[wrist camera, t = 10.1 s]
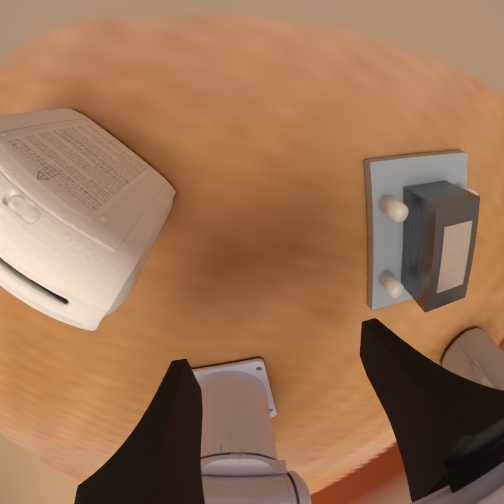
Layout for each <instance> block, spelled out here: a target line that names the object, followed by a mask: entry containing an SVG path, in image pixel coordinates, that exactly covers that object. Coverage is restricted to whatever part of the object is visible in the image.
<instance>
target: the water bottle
mask: <svg viewBox="0 0 504 504" xmlns="http://www.w3.org/2000/svg"><path fill="white" fill-rule="evenodd" d="M442 367H443V368H445V369H447V370H449V371H451V372H453V373H455V374H457V375H459V376H462V377H464V378H466V379H468V380H471V381H473V382H476V383H479V384H482V385H485V386H488V387H491V388H495V389H499V390H503V391H504V353H503V352H502V350H501V349H500V348H499V347H498V346H497V345H496V343H495V342H494V341H493V340H492V339H491V338H490V337H489V335H488V334H487V333H486V332H485V331H484V330H481V329H479V328H474V329H471V330H468V331H466V332H464V333H463V334H462V335H461V336H460V337H458V338H457V339H456V340H455V341H454V342H453V343H452V344H451V346H450V347H449V348H448V349H447V351H446V353H445V355H444V358H443V360H442Z"/></svg>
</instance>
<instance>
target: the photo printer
mask: <svg viewBox="0 0 504 504" xmlns="http://www.w3.org/2000/svg"><path fill="white" fill-rule="evenodd" d="M175 193H176V192H175V190H174V188H173V187H172V186H171V185H170V184H169V182H168V181H167V180H166V179H165V178H164V177H163V176H162V175H160V174H159V173H158V172H157V171H156V170H155V169H153V168H152V167H151V166H150V165H149V164H148V163H146V162H145V161H144V160H142V159H141V158H140V157H139V156H138V155H136V154H135V153H134V152H133V151H131V150H130V149H129V148H127V147H126V146H125V145H124V144H122V143H121V142H120V141H119V140H117V139H116V138H115V137H113V136H112V135H111V134H109V133H108V132H107V131H105V130H104V129H103V128H102V127H100V126H99V125H97V124H96V123H95V122H93V121H92V120H90V119H89V118H87V117H86V116H84V115H83V114H81V113H79V112H77V111H74V110H72V109H54V110H43V111H32V112H24V113H16V114H8V115H1V116H0V285H1V286H2V287H3V288H4V289H6V290H7V291H8V292H10V293H11V294H13V295H14V296H15V297H17V298H18V299H20V300H22V301H23V302H25V303H26V304H28V305H30V306H31V307H33V308H35V309H37V310H38V311H40V312H42V313H44V314H46V315H48V316H50V317H52V318H55V319H57V320H59V321H62V322H64V323H67V324H69V325H72V326H75V327H78V328H82V329H86V330H90V331H94V330H96V329H97V327H98V325H99V323H100V322H101V320H102V318H103V317H104V316H107V315H109V314H110V313H112V312H114V311H115V310H116V309H117V308H119V307H120V306H121V305H122V304H123V303H124V301H125V300H126V299H127V298H128V296H129V295H130V293H131V291H132V289H133V287H134V285H135V283H136V281H137V279H138V276H139V274H140V272H141V270H142V267H143V265H144V263H145V261H146V259H147V257H148V255H149V253H150V251H151V249H152V247H153V245H154V243H155V241H156V239H157V237H158V235H159V233H160V231H161V229H162V227H163V225H164V223H165V221H166V219H167V217H168V215H169V213H170V211H171V208H172V204H173V197H174V195H175Z"/></svg>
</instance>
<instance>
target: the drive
mask: <svg viewBox="0 0 504 504" xmlns="http://www.w3.org/2000/svg"><path fill="white" fill-rule="evenodd" d="M479 203H480V197H479V196H477V195H475V194H473V193H471V192H469V191H467V190H465V189H463V188H461V187H459V186H457V185H455V184H452V183H450V182H448V181H446V180H443V181H437V182H430V183H424V184H418V185H412V186H406V187H403V204H404V205H406V206H407V207H408V216H407V218H406V219H405V220H404V221H403V250H402V268H401V282H400V283H401V284H402V285H403V286H404V288H405V289H406V291H407V292H408V293H409V294H410V295H411V296H412V298H413V299H414V300H415V301H416V302H417V303H418V305H419V306H420V307H421V308H422V309H423V311H424V312H428V311H430V310H433V309H436V308H439V307H441V306H444V305H446V304H449V303H452V302H454V301H457V300H459V299H462V298H464V297H465V294H466V290H467V285H468V280H469V275H470V270H471V265H472V259H473V253H474V247H475V240H476V232H477V224H478V214H479Z"/></svg>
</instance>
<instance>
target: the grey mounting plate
mask: <svg viewBox="0 0 504 504" xmlns="http://www.w3.org/2000/svg"><path fill="white" fill-rule="evenodd" d="M364 171H365V185H366V202H367V227H368V292H367V305H368V306H369V308H370V309H371V311H373V310H377V309H380V308H383V307H387V306H390V305H393V304H397V303H400V302H403V301H406V300H410V299H413V298H412V296H411V295H410V294H409V293H408V292H407V291H406V289H405V288H404V286H403V285H402V284H401V283H400V282H401V268H402V250H403V221H404V220H405V219H406V218H407V216H408V207H407V206H406V205H404V204H403V187H406V186H412V185H418V184H424V183H430V182H437V181H443V180H446V181H448V182H450V183H452V184H455V185H457V186H459V187H461V188H463V189H465V190H467V191H469V192H471V193H473V194H475V195H477V196H478V193H477V192H476V191H474V190H472V189H470V188H468V187H467V152H464V151H461V150H452V151H439V152H428V153H417V154H407V155H398V156H390V157H381V158H373V159H366V160H364Z"/></svg>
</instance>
